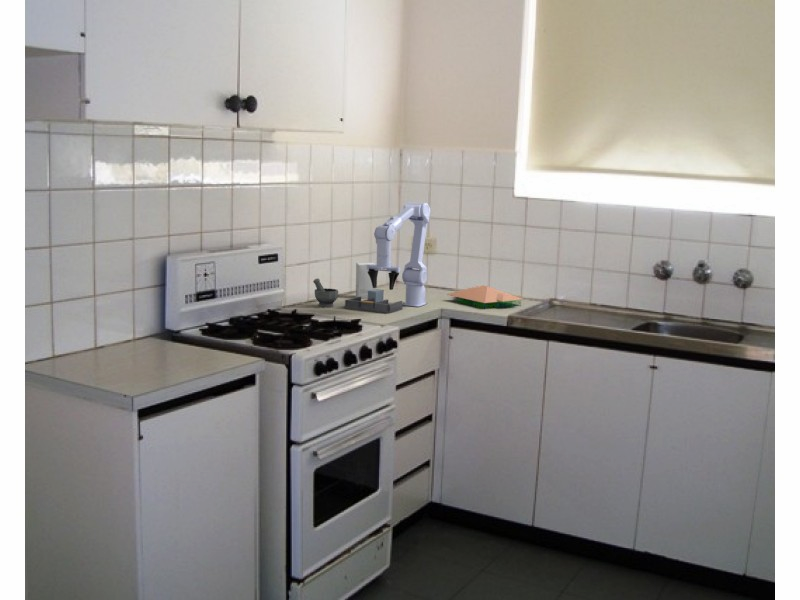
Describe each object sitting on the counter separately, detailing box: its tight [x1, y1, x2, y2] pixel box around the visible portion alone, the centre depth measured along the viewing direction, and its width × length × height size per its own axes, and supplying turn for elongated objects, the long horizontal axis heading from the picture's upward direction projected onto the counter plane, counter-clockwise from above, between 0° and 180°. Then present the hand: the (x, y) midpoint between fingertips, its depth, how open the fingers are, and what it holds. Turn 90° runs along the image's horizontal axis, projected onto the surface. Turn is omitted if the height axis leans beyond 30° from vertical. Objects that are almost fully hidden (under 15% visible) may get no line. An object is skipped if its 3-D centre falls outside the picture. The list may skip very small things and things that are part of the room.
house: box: [446, 285, 524, 310], centre depth 376 cm, size 23×33×8 cm
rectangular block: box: [367, 288, 384, 302], centre depth 364 cm, size 7×4×6 cm, turn 154°
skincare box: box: [355, 262, 377, 299], centre depth 380 cm, size 8×7×16 cm
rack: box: [344, 296, 404, 314], centre depth 351 cm, size 12×21×4 cm, turn 64°
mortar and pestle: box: [313, 278, 339, 308], centre depth 353 cm, size 11×9×12 cm
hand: (382, 288), depth 343 cm, fingers open, 7 cm apart
